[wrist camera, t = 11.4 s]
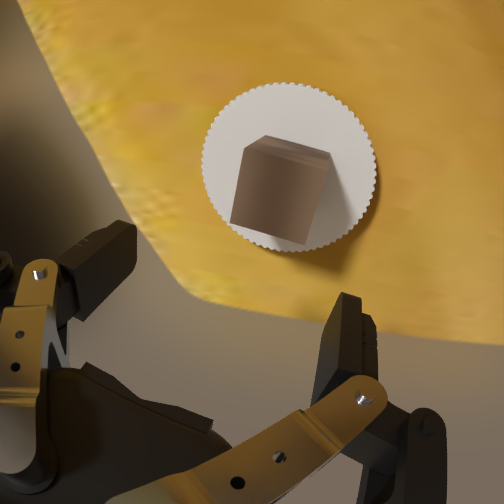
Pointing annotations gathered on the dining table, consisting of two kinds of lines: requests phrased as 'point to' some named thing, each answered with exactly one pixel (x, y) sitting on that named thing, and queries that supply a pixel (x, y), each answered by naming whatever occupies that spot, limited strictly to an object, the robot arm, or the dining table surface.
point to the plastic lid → (302, 132)
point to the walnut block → (279, 188)
